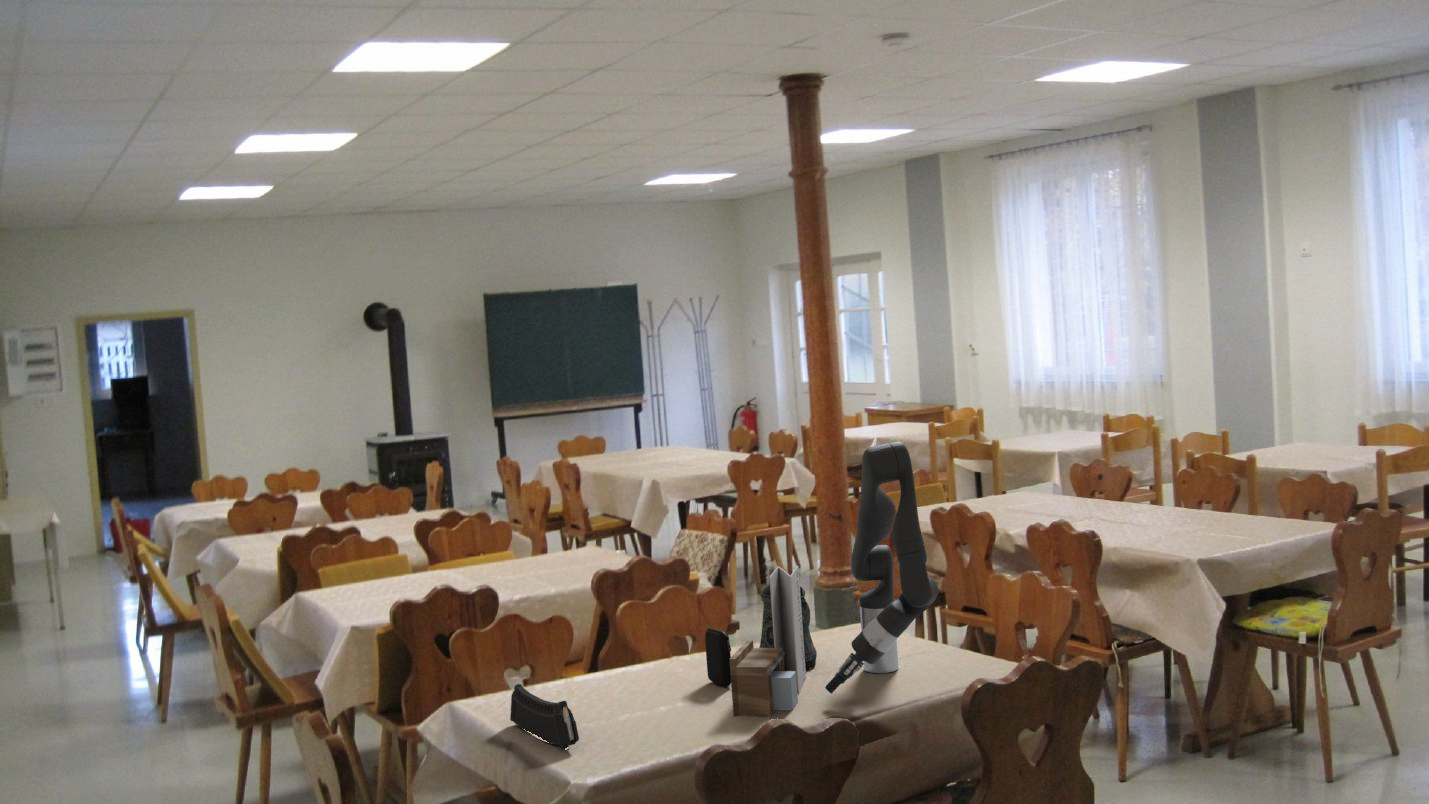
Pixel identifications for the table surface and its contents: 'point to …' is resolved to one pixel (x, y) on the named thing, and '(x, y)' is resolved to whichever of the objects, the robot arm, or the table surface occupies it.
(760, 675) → the cubby
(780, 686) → the grey block
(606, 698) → the table surface
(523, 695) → the magazine
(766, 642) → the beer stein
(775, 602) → the brochure
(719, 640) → the carrying case or bag
